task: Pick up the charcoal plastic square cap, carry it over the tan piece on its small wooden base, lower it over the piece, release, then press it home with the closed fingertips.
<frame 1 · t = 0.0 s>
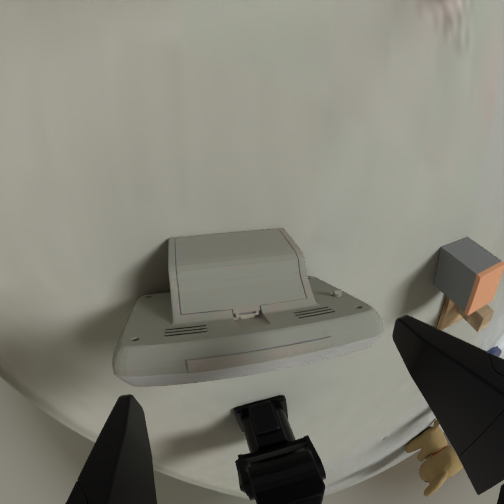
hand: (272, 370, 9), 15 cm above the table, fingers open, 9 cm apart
cap: (451, 260, 31), on the table
toy: (423, 432, 68), on the table
digital clock: (227, 276, 25), on the table
tan piece: (461, 298, 36), on the table
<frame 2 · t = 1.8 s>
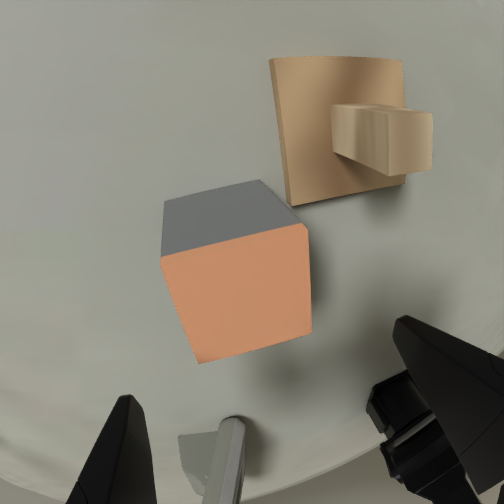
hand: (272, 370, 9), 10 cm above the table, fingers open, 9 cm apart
cap: (221, 232, 17), on the table
digital clock: (218, 445, 30), on the table
tan piece: (344, 124, 16), on the table
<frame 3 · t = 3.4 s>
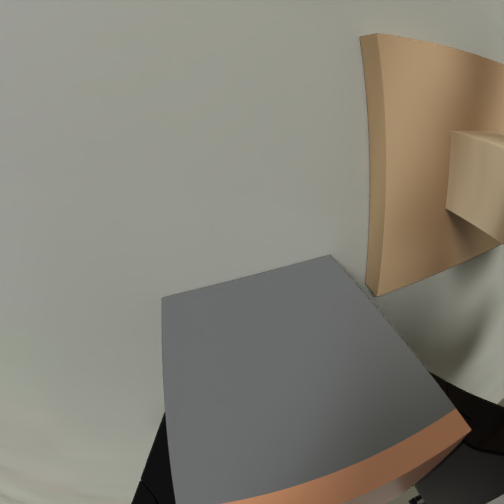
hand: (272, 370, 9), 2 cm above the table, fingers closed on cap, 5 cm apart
cap: (259, 337, 10), on the table, touching gripper
tan piece: (455, 161, 9), on the table
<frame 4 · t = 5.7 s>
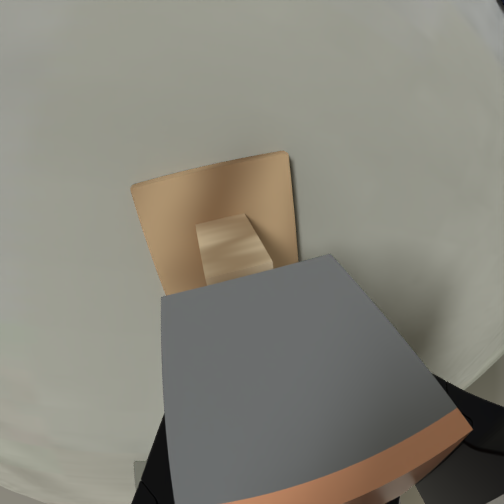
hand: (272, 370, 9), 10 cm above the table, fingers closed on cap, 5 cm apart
cap: (259, 336, 10), point 8 cm above the table, touching gripper
tan piece: (222, 234, 17), on the table
when the fingers open (3 cm above the table, at t = 8.0 s): cap stays where it is, resting on tan piece.
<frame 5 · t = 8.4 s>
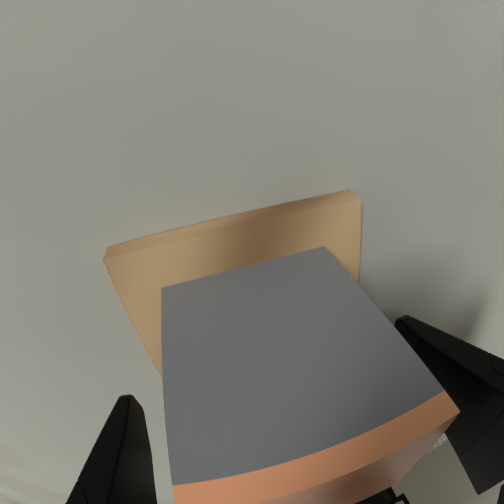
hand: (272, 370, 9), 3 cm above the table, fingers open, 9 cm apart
cap: (256, 327, 11), point 1 cm above the table, touching tan piece
tan piece: (251, 313, 11), on the table
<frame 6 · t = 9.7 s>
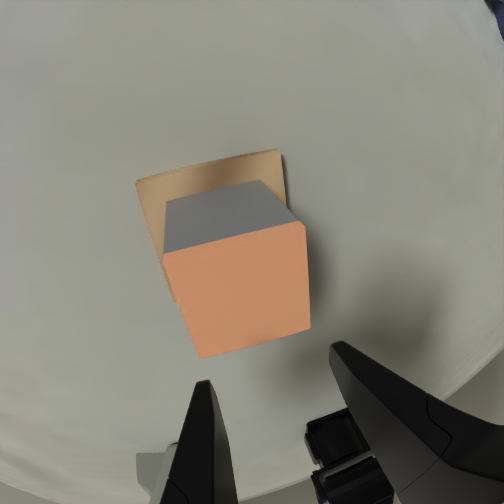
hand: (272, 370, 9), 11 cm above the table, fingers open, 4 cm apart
cap: (221, 231, 18), point 1 cm above the table, touching tan piece
digital clock: (173, 462, 33), on the table
tan piece: (219, 226, 18), on the table
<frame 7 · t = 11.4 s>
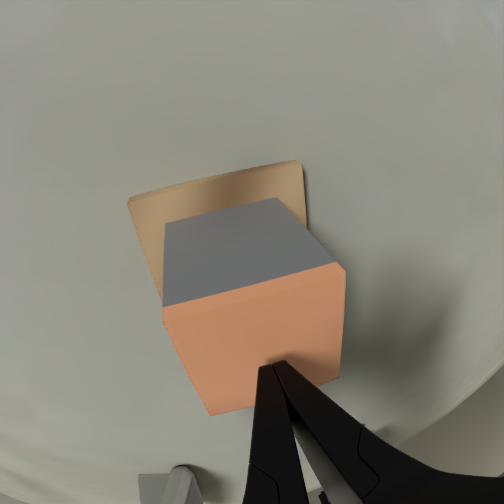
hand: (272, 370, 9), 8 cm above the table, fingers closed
cap: (231, 258, 15), point 1 cm above the table, touching tan piece
digital clock: (176, 481, 30), on the table
tan piece: (228, 251, 16), on the table
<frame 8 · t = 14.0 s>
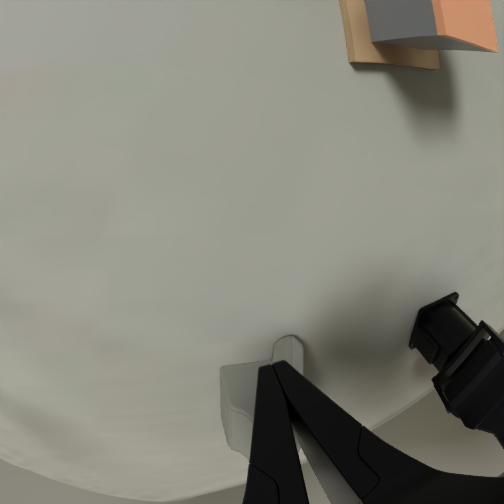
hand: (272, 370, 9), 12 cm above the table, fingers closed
cap: (395, 12, 14), point 1 cm above the table, touching tan piece
digital clock: (260, 386, 29), on the table
tan piece: (388, 14, 14), on the table
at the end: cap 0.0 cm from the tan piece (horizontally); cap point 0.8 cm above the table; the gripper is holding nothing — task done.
